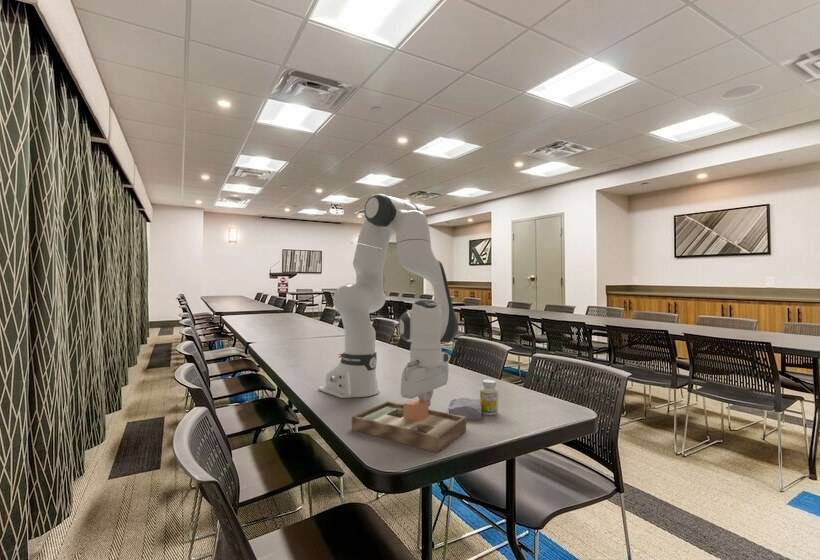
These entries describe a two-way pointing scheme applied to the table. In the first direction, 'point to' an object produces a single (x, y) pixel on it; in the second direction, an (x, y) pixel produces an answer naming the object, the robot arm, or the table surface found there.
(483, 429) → the table surface
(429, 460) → the table surface
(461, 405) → the stone block
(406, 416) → the block
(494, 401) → the supplement bottle
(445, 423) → the board
